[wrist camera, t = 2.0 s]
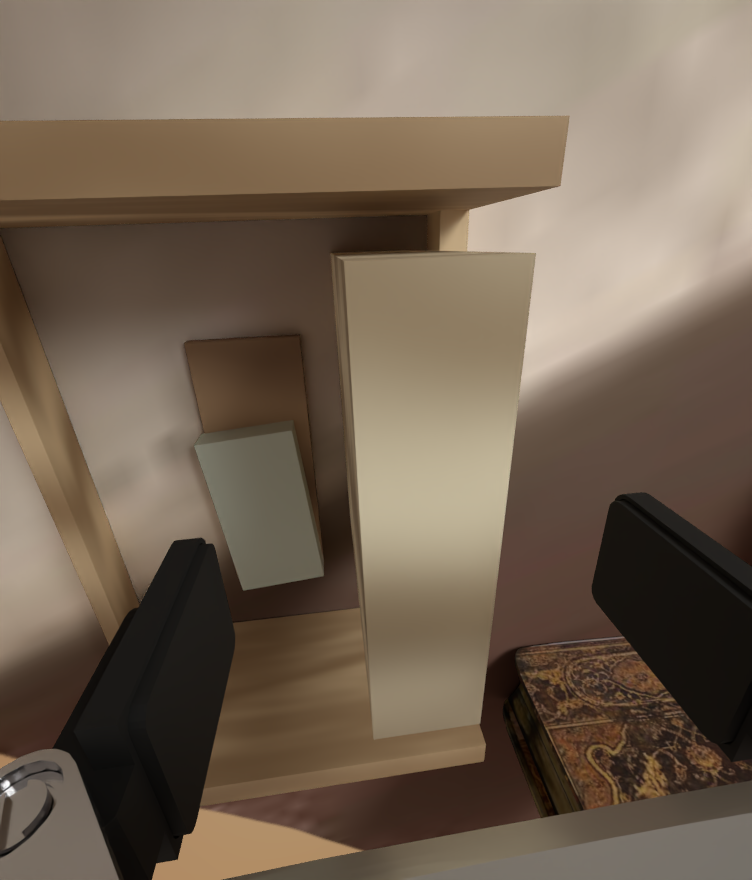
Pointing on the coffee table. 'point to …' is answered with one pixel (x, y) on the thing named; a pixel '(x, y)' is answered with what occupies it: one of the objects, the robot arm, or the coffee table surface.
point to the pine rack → (238, 199)
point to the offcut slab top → (262, 503)
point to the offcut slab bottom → (253, 389)
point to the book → (605, 730)
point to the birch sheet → (428, 466)
